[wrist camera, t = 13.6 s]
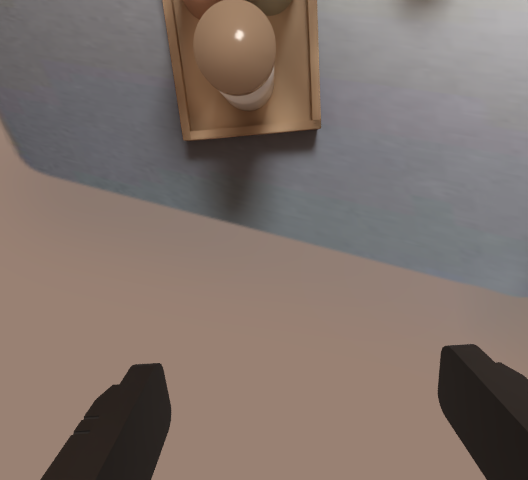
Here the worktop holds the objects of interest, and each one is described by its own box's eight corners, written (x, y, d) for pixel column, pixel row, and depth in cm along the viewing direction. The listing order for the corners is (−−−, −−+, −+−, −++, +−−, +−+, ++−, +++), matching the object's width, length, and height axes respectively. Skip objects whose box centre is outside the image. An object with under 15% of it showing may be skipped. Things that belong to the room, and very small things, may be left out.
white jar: (273, 50, 30) (273, -6, 20) (276, 110, 32) (278, 88, 21) (217, 55, 30) (188, 3, 20) (223, 114, 32) (198, 95, 21)
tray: (310, -65, 29) (314, -83, 27) (317, 129, 34) (321, 128, 31) (161, -49, 29) (152, -65, 27) (188, 140, 34) (183, 140, 32)
